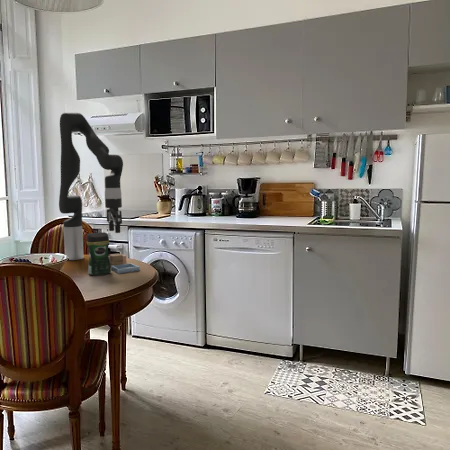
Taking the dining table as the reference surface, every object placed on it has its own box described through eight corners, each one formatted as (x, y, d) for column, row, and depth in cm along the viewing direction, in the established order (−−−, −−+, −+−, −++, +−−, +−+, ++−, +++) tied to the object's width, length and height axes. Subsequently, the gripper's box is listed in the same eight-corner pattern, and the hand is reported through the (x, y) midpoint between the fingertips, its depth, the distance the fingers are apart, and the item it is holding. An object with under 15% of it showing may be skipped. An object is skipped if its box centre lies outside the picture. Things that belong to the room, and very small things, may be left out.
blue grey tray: (110, 269, 200) (110, 265, 200) (131, 266, 206) (131, 263, 205) (118, 273, 192) (118, 269, 192) (139, 270, 197) (139, 266, 197)
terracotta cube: (115, 263, 215) (115, 255, 214) (123, 262, 217) (123, 254, 216) (118, 264, 211) (118, 256, 211) (126, 263, 214) (126, 255, 213)
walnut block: (109, 266, 206) (108, 254, 206) (119, 265, 209) (119, 253, 208) (113, 268, 202) (112, 256, 201) (123, 267, 205) (122, 255, 204)
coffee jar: (108, 270, 198) (106, 230, 196) (112, 274, 191) (110, 232, 189) (86, 273, 194) (84, 232, 191) (90, 276, 187) (88, 234, 184)
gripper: (100, 197, 205) (102, 231, 207) (110, 198, 193) (112, 234, 195) (115, 196, 209) (117, 229, 211) (126, 197, 198) (127, 232, 199)
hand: (114, 231), depth 203 cm, fingers open, 8 cm apart
